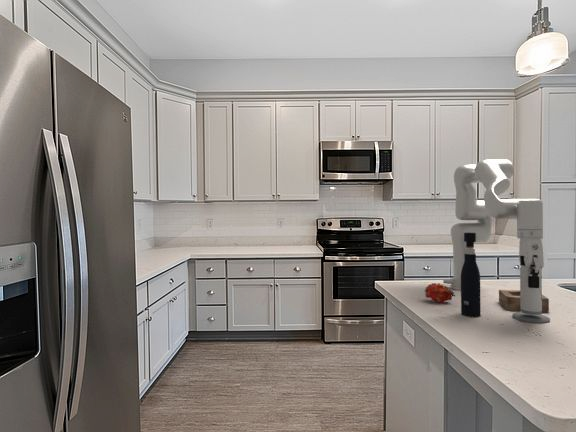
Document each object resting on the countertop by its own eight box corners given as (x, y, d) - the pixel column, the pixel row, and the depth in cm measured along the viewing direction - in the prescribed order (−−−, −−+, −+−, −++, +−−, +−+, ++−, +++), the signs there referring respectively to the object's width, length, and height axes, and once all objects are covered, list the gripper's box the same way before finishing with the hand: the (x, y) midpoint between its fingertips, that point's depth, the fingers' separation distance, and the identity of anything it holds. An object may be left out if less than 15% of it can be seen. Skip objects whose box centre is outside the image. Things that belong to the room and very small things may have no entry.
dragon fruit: (423, 303, 156) (452, 311, 149) (419, 295, 150) (450, 303, 143) (428, 285, 160) (458, 292, 153) (425, 276, 154) (455, 284, 147)
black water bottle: (479, 313, 135) (478, 232, 134) (482, 318, 129) (481, 233, 128) (460, 311, 137) (459, 232, 136) (462, 316, 131) (461, 233, 130)
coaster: (517, 322, 124) (517, 320, 124) (508, 313, 134) (508, 311, 134) (555, 324, 120) (555, 322, 120) (543, 314, 131) (543, 313, 131)
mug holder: (507, 310, 138) (507, 296, 138) (499, 301, 150) (498, 289, 150) (548, 312, 134) (548, 298, 134) (536, 303, 146) (536, 291, 146)
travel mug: (515, 310, 130) (514, 254, 130) (532, 309, 131) (532, 254, 130) (528, 315, 124) (527, 257, 123) (546, 314, 124) (546, 256, 124)
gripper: (552, 236, 117) (552, 291, 118) (533, 232, 134) (533, 281, 134) (525, 236, 120) (526, 290, 120) (510, 232, 136) (510, 280, 136)
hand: (530, 285), depth 127 cm, fingers closed on travel mug, 6 cm apart
